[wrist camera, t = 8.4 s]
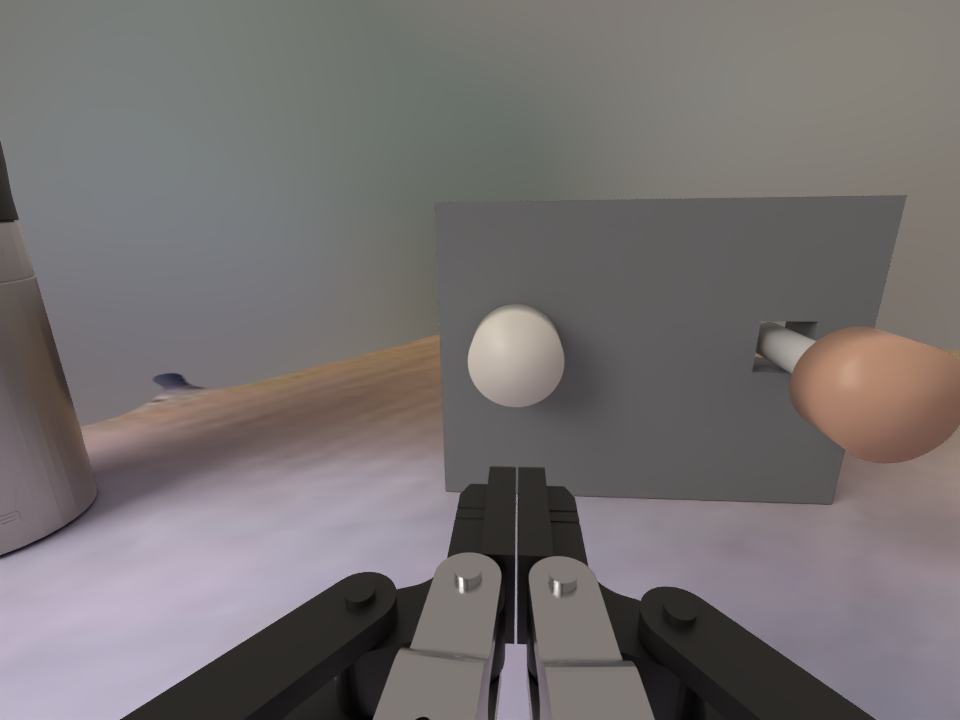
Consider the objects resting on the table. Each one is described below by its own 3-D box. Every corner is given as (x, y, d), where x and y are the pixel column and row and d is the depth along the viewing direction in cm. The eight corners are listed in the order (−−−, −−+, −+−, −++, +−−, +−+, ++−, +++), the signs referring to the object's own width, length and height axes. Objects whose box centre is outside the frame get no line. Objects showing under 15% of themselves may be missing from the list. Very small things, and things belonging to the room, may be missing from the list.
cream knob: (562, 408, 25) (566, 315, 24) (468, 406, 25) (466, 315, 24) (550, 352, 35) (552, 284, 33) (482, 351, 35) (481, 284, 34)
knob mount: (831, 504, 29) (906, 195, 24) (445, 491, 31) (434, 202, 26) (763, 440, 37) (808, 199, 32) (460, 433, 39) (454, 204, 34)
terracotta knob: (949, 465, 19) (988, 345, 18) (819, 461, 19) (845, 344, 18) (802, 378, 29) (818, 297, 27) (717, 377, 29) (729, 297, 28)
